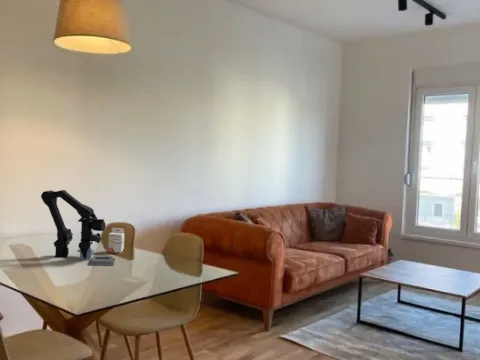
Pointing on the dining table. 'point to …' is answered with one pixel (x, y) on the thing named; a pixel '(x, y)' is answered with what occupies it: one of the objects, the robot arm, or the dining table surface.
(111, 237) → the ink cartridge box
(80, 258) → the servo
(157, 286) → the dining table surface
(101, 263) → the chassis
